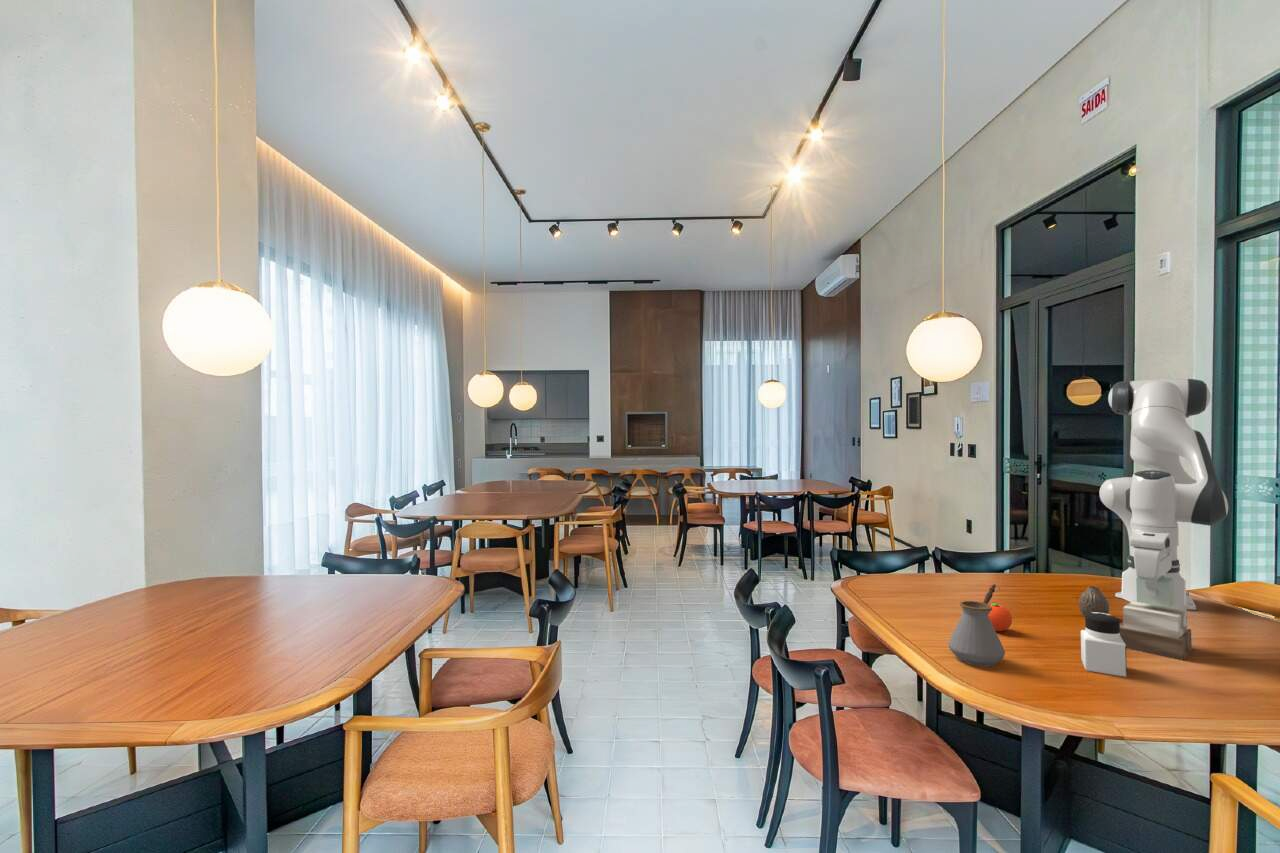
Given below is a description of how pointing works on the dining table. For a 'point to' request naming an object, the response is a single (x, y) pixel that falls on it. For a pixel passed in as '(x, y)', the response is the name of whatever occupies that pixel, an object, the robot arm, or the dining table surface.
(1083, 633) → the medicine bottle
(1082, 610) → the brown ridged oval lump
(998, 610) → the clementine
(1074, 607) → the dining table surface
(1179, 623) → the tower top
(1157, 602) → the sage cube
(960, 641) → the coffee pot
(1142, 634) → the tower base
